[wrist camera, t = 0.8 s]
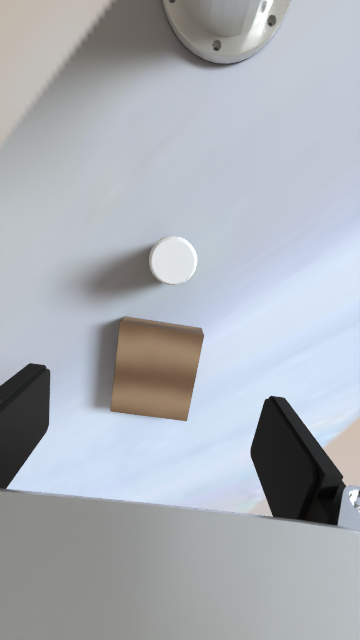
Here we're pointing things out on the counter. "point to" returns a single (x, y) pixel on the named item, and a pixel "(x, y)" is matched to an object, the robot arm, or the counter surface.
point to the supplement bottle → (172, 260)
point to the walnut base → (155, 368)
